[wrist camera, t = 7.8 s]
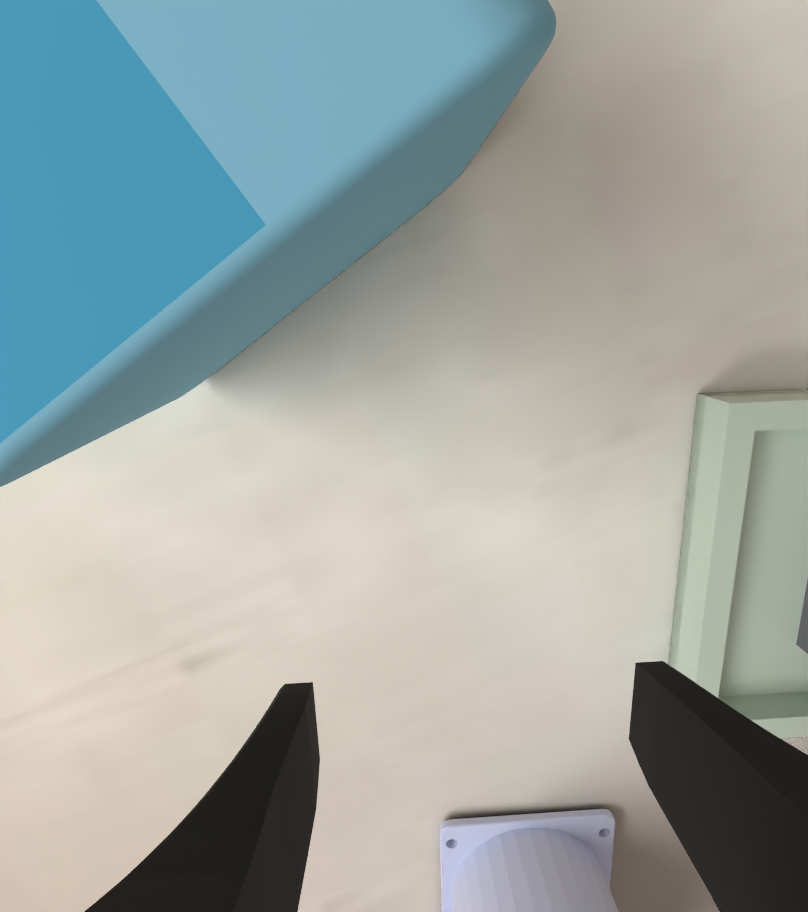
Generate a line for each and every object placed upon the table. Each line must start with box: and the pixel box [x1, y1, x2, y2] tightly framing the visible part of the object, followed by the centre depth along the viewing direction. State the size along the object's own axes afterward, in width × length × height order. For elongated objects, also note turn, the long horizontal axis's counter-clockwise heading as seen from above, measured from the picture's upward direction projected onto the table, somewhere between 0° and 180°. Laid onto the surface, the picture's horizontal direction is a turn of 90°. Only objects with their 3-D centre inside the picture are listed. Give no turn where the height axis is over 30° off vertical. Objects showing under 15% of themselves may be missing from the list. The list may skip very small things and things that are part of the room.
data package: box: [0, 0, 556, 487], centre depth 13 cm, size 12×4×12 cm, turn 127°
